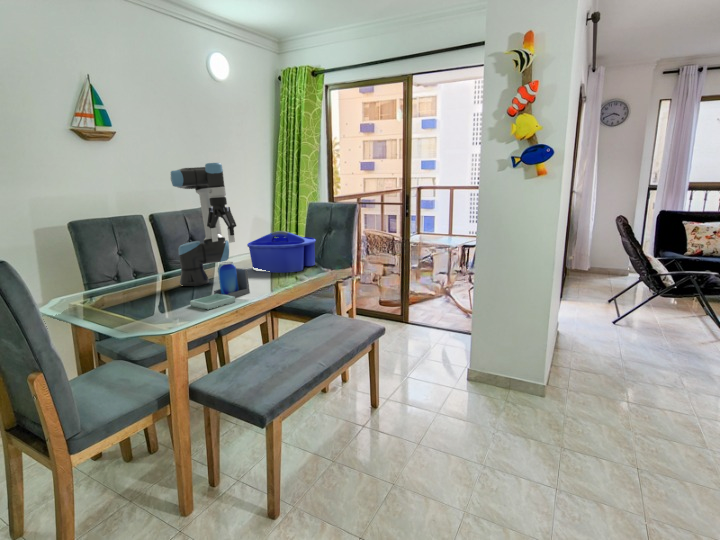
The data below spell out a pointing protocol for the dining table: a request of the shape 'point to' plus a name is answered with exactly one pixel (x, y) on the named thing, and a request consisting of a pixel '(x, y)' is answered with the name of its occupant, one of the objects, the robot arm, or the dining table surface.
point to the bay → (239, 284)
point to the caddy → (282, 252)
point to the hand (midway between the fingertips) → (223, 241)
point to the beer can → (227, 278)
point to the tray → (212, 301)
